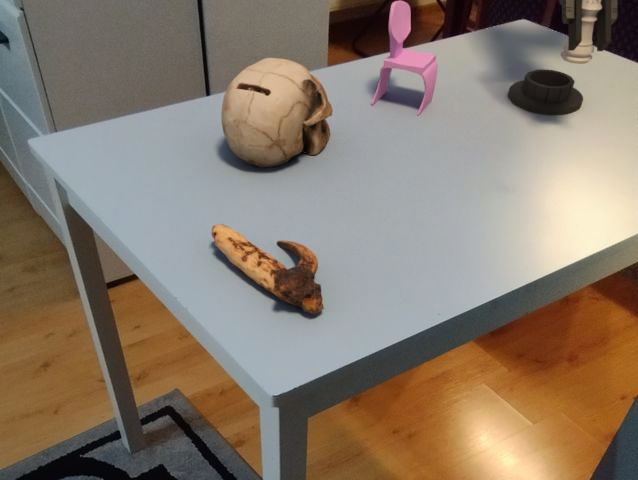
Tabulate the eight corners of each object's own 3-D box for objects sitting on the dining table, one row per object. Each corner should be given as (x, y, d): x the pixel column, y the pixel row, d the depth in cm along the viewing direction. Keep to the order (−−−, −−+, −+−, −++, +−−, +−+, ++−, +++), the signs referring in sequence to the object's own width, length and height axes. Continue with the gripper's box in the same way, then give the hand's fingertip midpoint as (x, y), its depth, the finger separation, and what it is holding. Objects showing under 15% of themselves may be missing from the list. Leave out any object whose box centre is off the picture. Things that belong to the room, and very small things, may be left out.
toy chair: (419, 118, 108) (432, 17, 97) (368, 107, 110) (375, 7, 100) (436, 99, 113) (450, 1, 103) (387, 88, 116) (395, -8, 105)
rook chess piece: (573, 50, 100) (589, -9, 94) (598, 60, 97) (616, 0, 92) (552, 56, 98) (567, -4, 92) (577, 67, 95) (594, 5, 90)
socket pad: (570, 85, 118) (576, 65, 116) (590, 115, 110) (596, 94, 107) (502, 84, 118) (506, 63, 116) (515, 113, 110) (520, 92, 107)
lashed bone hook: (360, 297, 75) (258, 225, 84) (365, 262, 72) (258, 192, 81) (296, 332, 70) (195, 251, 79) (298, 296, 67) (193, 217, 76)
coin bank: (326, 117, 107) (327, 31, 96) (340, 183, 95) (341, 94, 85) (226, 123, 106) (216, 37, 95) (227, 191, 94) (216, 102, 84)
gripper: (636, -103, 97) (636, 60, 96) (522, -106, 97) (521, 57, 96) (663, -142, 90) (663, 34, 89) (540, -146, 89) (538, 31, 89)
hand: (589, 45), depth 93 cm, fingers closed on rook chess piece, 3 cm apart
